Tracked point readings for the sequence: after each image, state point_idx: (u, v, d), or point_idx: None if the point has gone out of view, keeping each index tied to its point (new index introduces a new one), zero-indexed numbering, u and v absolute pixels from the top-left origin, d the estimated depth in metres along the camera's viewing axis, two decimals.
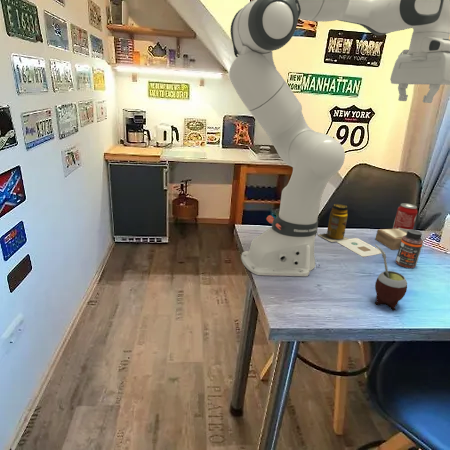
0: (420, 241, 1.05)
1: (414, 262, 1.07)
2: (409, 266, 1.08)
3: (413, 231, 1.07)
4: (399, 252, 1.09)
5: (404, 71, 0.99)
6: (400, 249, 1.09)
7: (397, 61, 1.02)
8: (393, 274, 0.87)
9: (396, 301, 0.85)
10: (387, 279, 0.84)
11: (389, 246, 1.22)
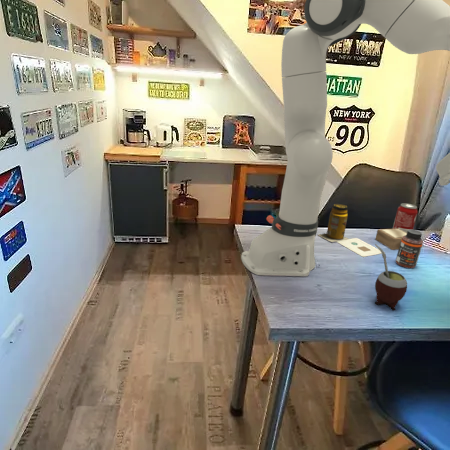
0: (420, 241, 1.05)
1: (414, 262, 1.07)
2: (409, 266, 1.08)
3: (413, 231, 1.07)
4: (399, 252, 1.09)
5: None
6: (400, 249, 1.09)
7: None
8: (393, 274, 0.87)
9: (396, 301, 0.85)
10: (387, 279, 0.84)
11: (389, 246, 1.22)
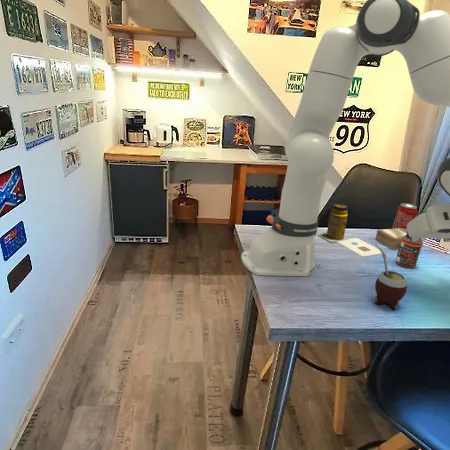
0: (420, 241, 1.05)
1: (414, 262, 1.07)
2: (409, 266, 1.08)
3: None
4: (399, 252, 1.09)
5: None
6: (400, 249, 1.09)
7: None
8: (393, 274, 0.87)
9: (396, 301, 0.85)
10: (387, 279, 0.84)
11: (389, 246, 1.22)
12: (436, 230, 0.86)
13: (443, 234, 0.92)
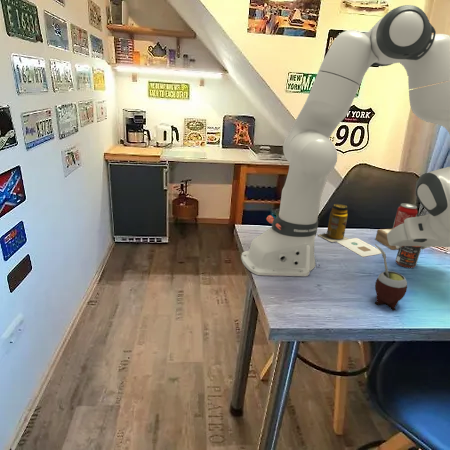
0: None
1: (414, 262, 1.07)
2: (409, 266, 1.08)
3: None
4: (399, 252, 1.09)
5: None
6: (400, 249, 1.09)
7: None
8: (393, 274, 0.87)
9: (396, 301, 0.85)
10: (387, 279, 0.84)
11: (389, 246, 1.22)
12: (412, 240, 0.95)
13: (420, 242, 1.01)
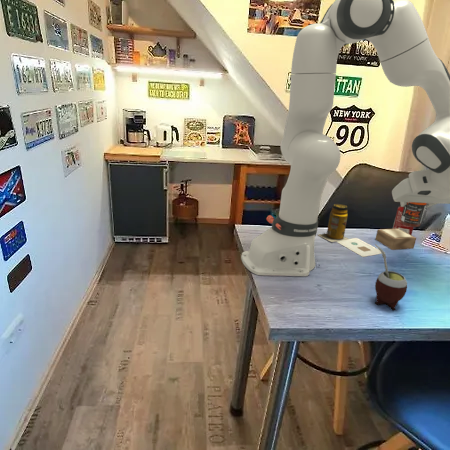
0: None
1: (419, 220, 1.09)
2: (414, 225, 1.10)
3: None
4: (404, 211, 1.11)
5: None
6: (405, 208, 1.11)
7: None
8: (393, 274, 0.87)
9: (396, 301, 0.85)
10: (387, 279, 0.84)
11: (389, 246, 1.22)
12: (416, 192, 0.97)
13: (424, 197, 1.03)
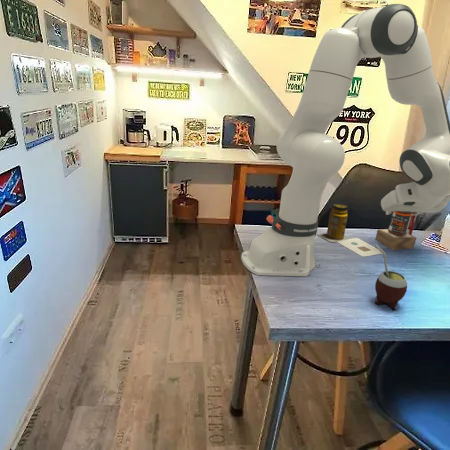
0: None
1: (404, 230, 1.21)
2: (400, 233, 1.22)
3: None
4: (391, 221, 1.23)
5: None
6: (392, 219, 1.23)
7: None
8: (393, 274, 0.87)
9: (396, 301, 0.85)
10: (387, 279, 0.84)
11: (389, 246, 1.22)
12: (402, 203, 1.09)
13: (409, 207, 1.15)
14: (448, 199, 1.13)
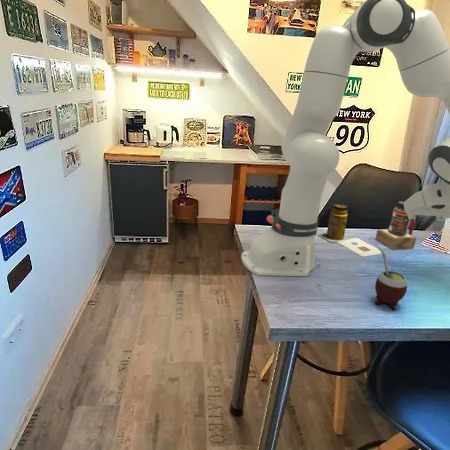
0: None
1: (404, 230, 1.21)
2: (400, 234, 1.22)
3: (403, 202, 1.21)
4: (391, 222, 1.23)
5: None
6: (392, 219, 1.23)
7: None
8: (393, 274, 0.87)
9: (396, 301, 0.85)
10: (387, 279, 0.84)
11: (389, 246, 1.22)
12: (430, 206, 0.95)
13: (436, 211, 1.01)
14: None
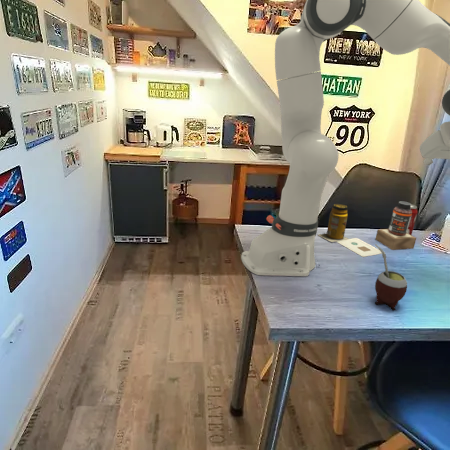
0: (409, 211, 1.19)
1: (404, 230, 1.21)
2: (400, 234, 1.22)
3: (403, 202, 1.20)
4: (391, 222, 1.23)
5: None
6: (392, 219, 1.23)
7: None
8: (393, 274, 0.87)
9: (396, 301, 0.85)
10: (387, 279, 0.84)
11: (389, 246, 1.22)
12: (449, 144, 0.89)
13: None
14: None
